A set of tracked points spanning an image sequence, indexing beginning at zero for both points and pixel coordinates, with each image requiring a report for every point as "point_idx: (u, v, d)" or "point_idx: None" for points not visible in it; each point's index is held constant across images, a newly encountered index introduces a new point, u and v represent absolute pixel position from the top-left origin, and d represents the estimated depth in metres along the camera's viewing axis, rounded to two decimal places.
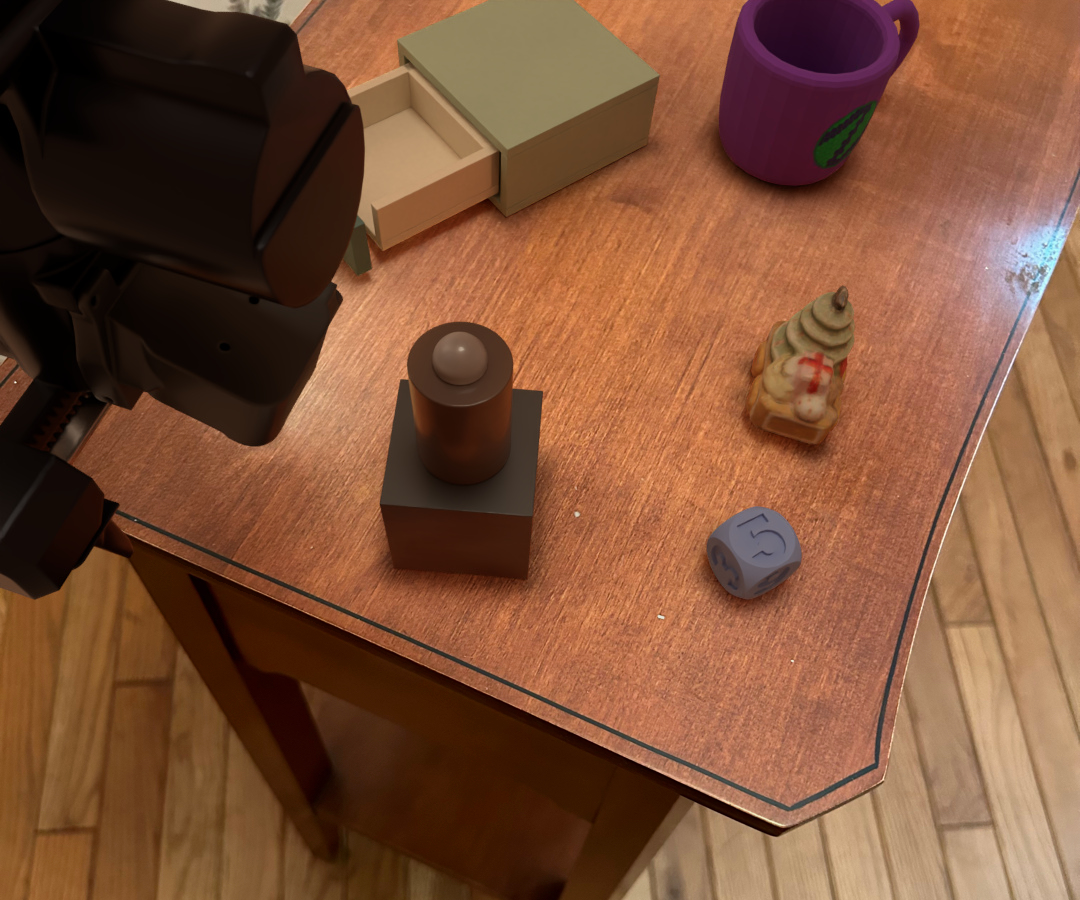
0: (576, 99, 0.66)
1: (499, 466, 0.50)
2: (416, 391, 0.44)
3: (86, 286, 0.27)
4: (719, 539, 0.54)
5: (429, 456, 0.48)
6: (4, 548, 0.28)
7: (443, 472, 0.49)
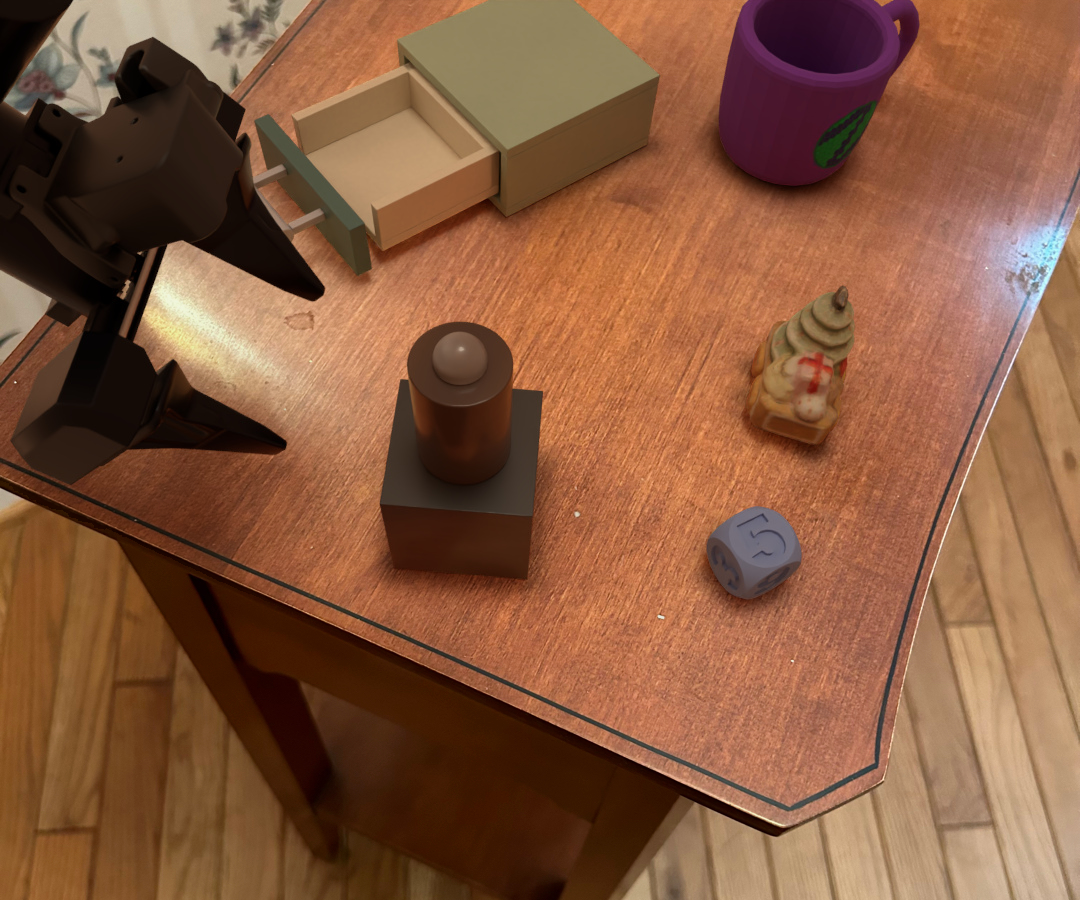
0: (576, 99, 0.66)
1: (499, 466, 0.50)
2: (416, 391, 0.44)
3: (13, 184, 0.34)
4: (719, 539, 0.54)
5: (429, 456, 0.48)
6: (64, 403, 0.34)
7: (443, 472, 0.49)
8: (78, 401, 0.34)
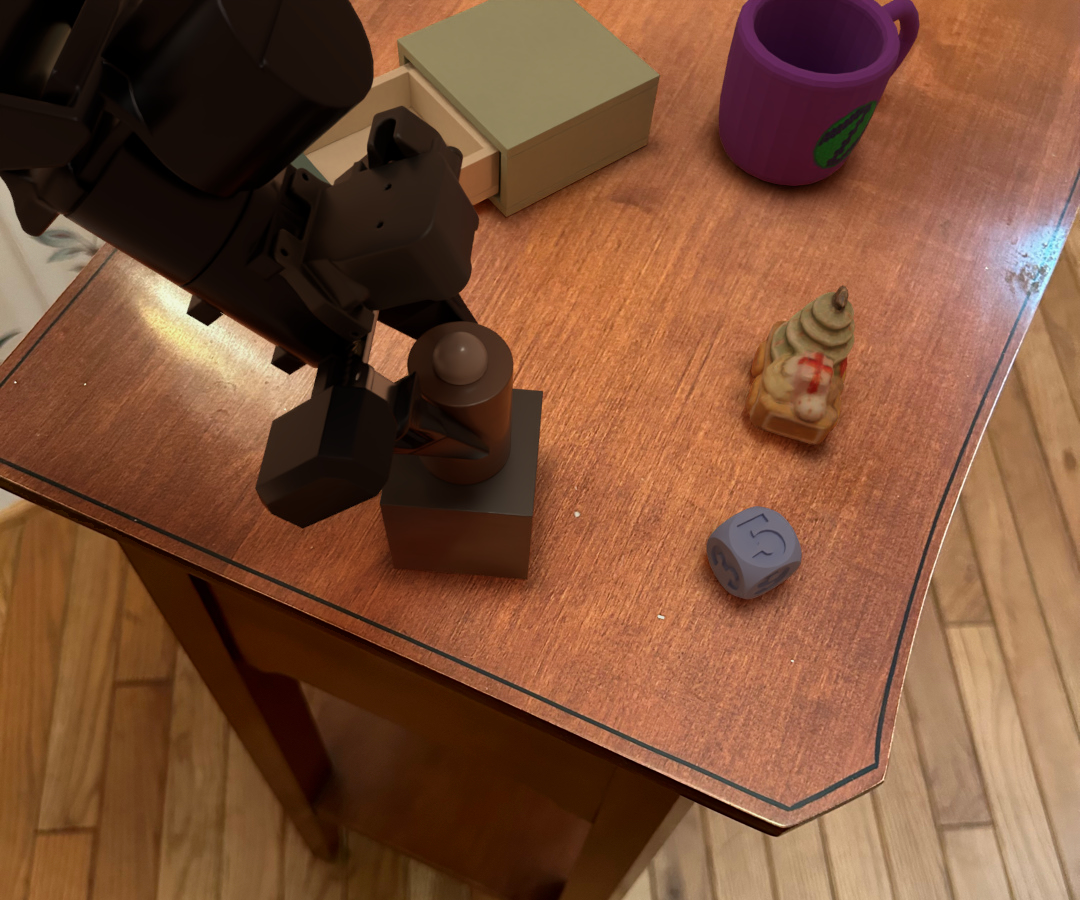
0: (576, 99, 0.66)
1: (499, 466, 0.50)
2: None
3: (275, 247, 0.36)
4: (719, 539, 0.54)
5: (429, 456, 0.48)
6: (325, 456, 0.36)
7: (443, 471, 0.49)
8: (338, 454, 0.36)
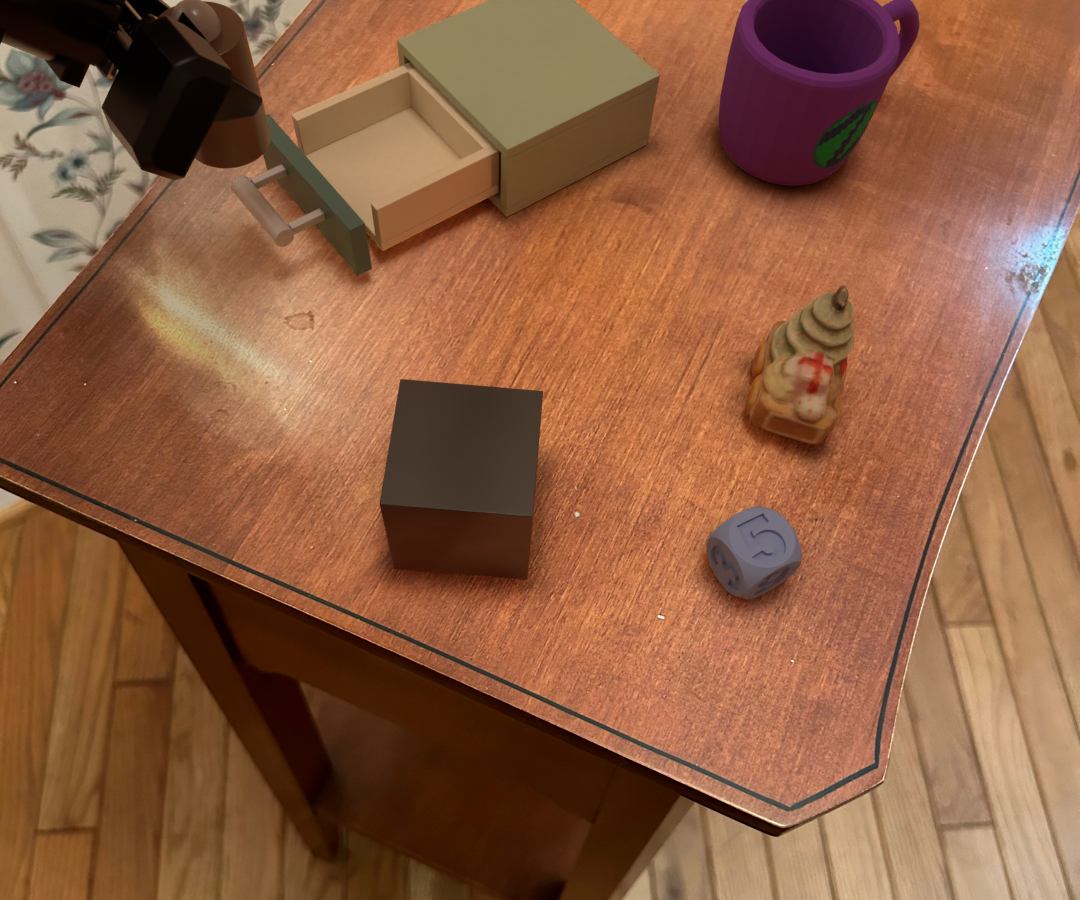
0: (576, 99, 0.66)
1: (269, 132, 0.57)
2: None
3: None
4: (719, 539, 0.54)
5: (214, 145, 0.55)
6: (179, 62, 0.42)
7: (233, 154, 0.56)
8: (187, 57, 0.43)
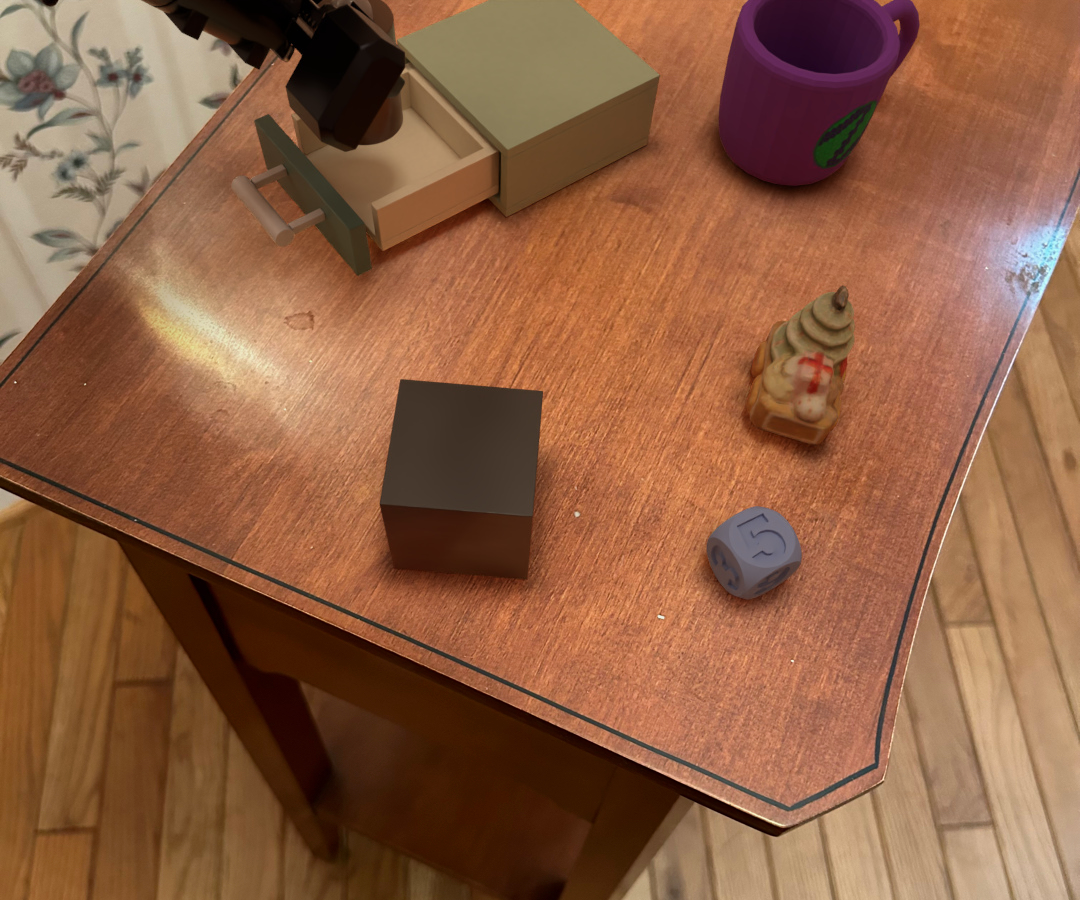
0: (576, 99, 0.66)
1: (402, 113, 0.63)
2: None
3: None
4: (719, 539, 0.54)
5: None
6: (365, 45, 0.48)
7: (373, 132, 0.61)
8: (371, 40, 0.48)
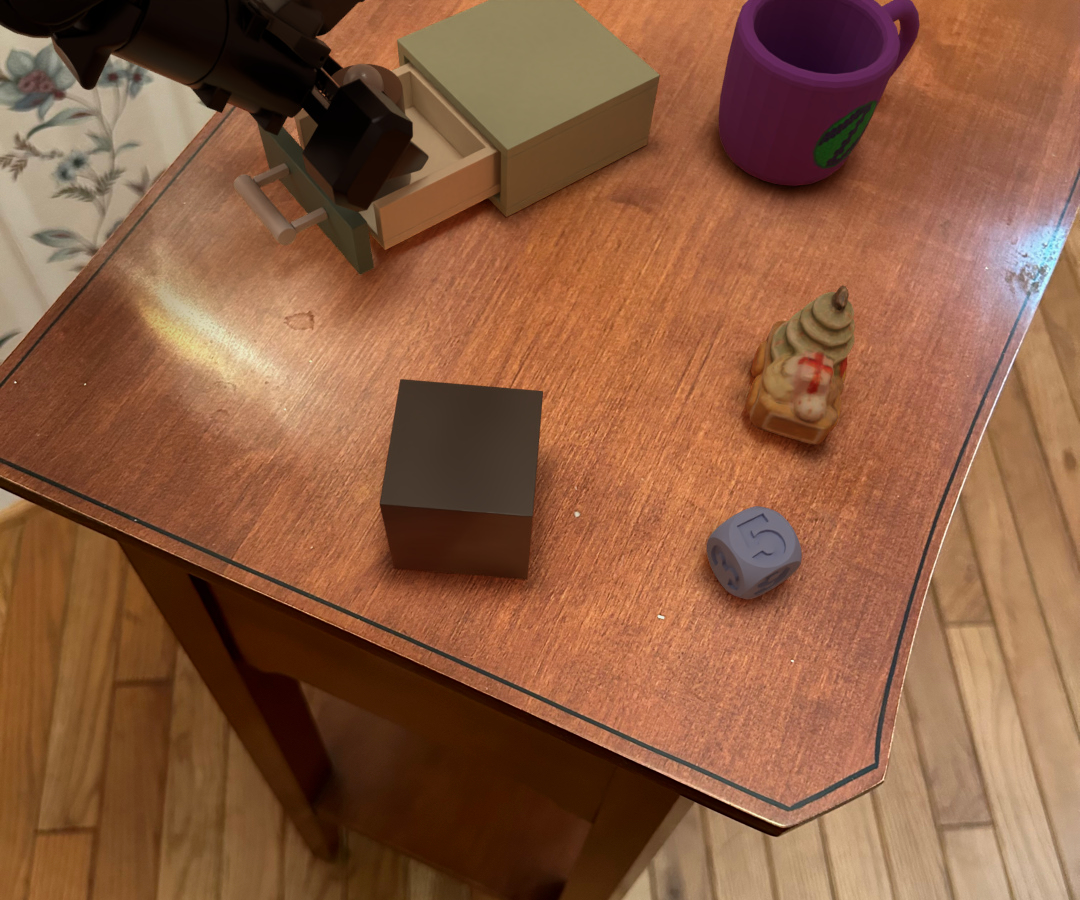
0: (576, 99, 0.66)
1: None
2: None
3: (255, 9, 0.51)
4: (719, 538, 0.54)
5: None
6: (376, 118, 0.52)
7: (383, 190, 0.66)
8: (381, 114, 0.52)
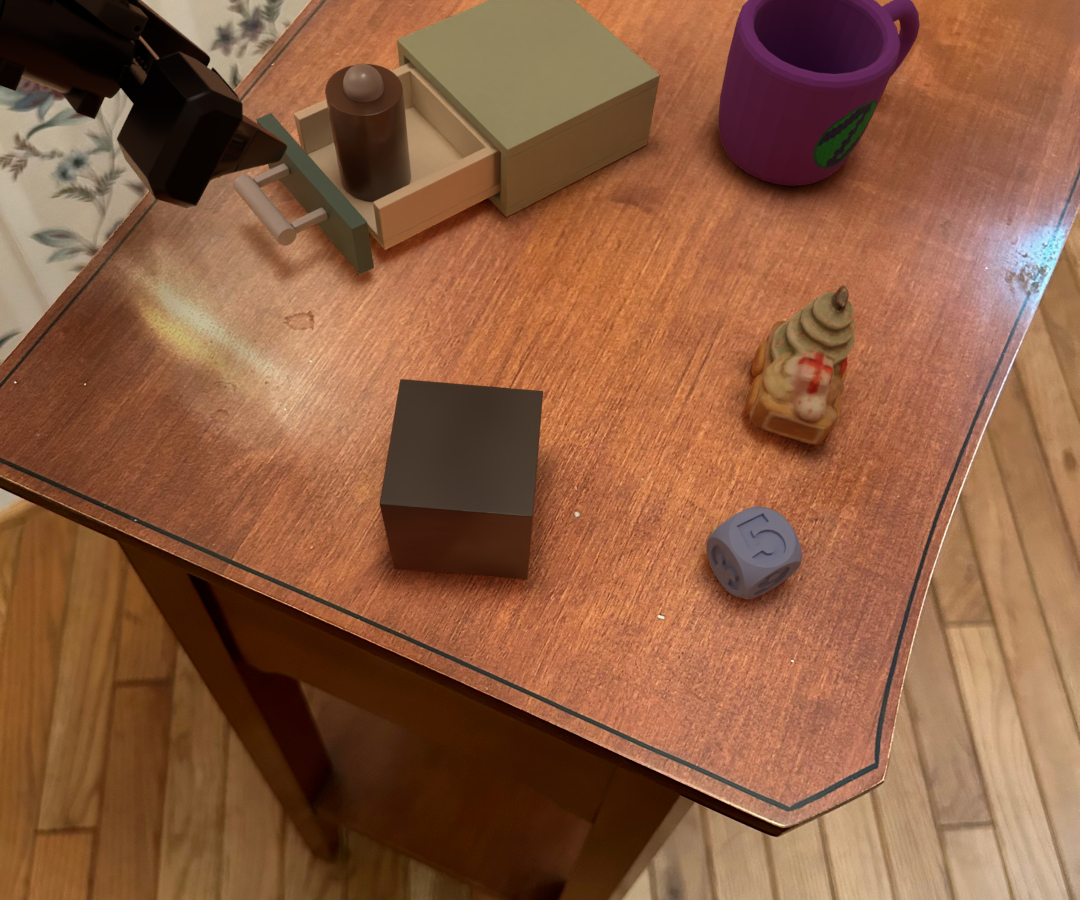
0: (576, 99, 0.66)
1: (410, 171, 0.67)
2: (354, 117, 0.60)
3: None
4: (719, 538, 0.54)
5: (370, 183, 0.65)
6: (192, 97, 0.44)
7: (383, 190, 0.66)
8: (200, 92, 0.44)
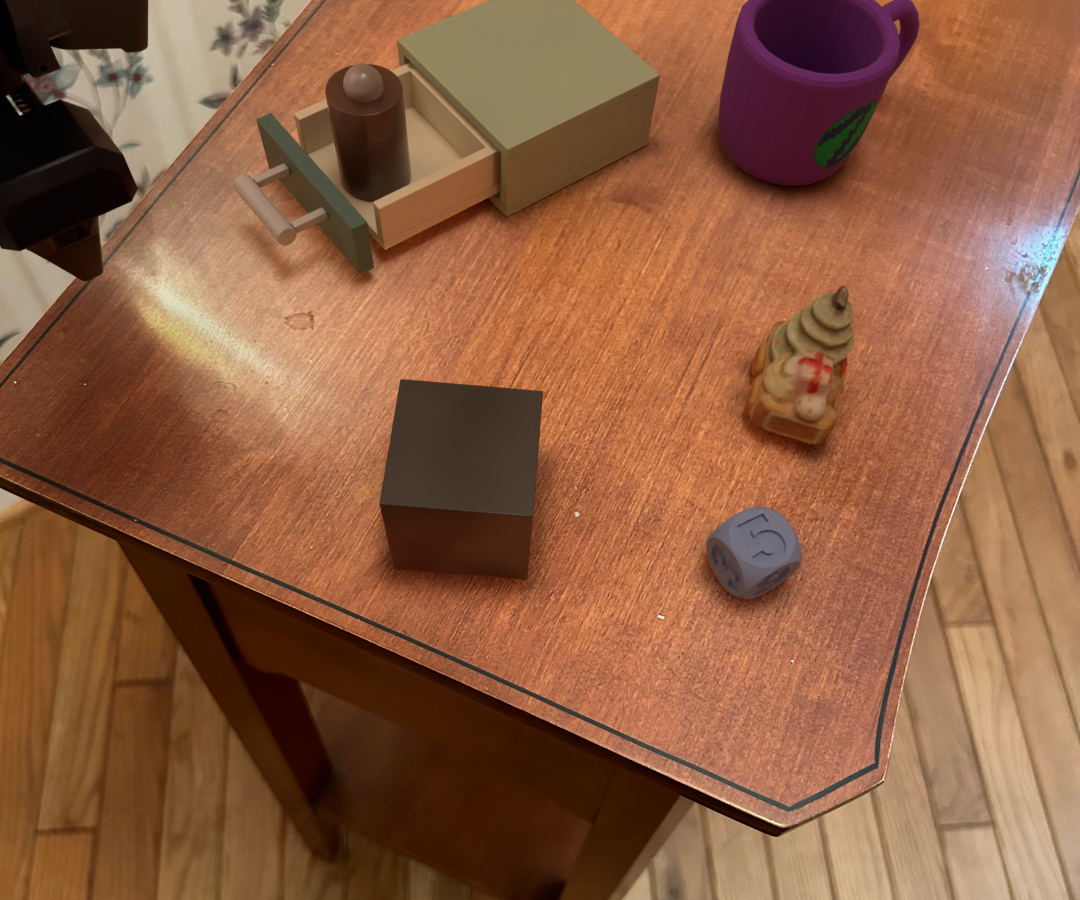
0: (576, 99, 0.66)
1: (410, 171, 0.67)
2: (354, 117, 0.60)
3: None
4: (719, 539, 0.54)
5: (370, 183, 0.65)
6: (101, 147, 0.39)
7: (383, 190, 0.66)
8: (109, 148, 0.39)
